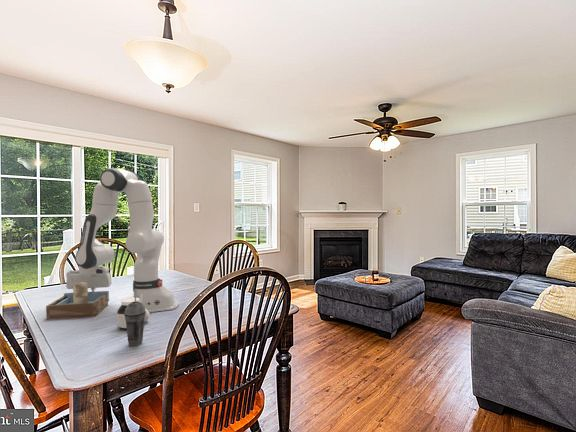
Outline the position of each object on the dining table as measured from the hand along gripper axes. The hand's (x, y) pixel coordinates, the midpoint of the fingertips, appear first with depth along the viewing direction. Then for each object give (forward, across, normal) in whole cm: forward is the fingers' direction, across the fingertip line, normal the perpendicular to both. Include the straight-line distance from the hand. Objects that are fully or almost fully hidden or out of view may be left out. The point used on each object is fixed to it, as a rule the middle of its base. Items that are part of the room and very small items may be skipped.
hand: (89, 296), depth 165 cm
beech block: (+2, 0, -11) cm, 11 cm away
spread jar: (+4, +30, -37) cm, 48 cm away
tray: (+2, 0, -10) cm, 10 cm away
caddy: (+4, 0, -12) cm, 13 cm away
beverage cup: (+4, +35, -57) cm, 67 cm away
